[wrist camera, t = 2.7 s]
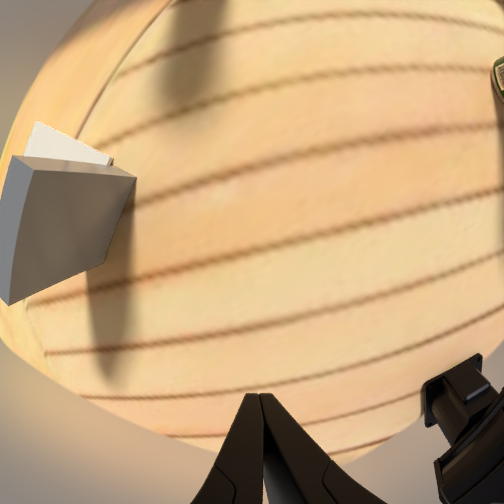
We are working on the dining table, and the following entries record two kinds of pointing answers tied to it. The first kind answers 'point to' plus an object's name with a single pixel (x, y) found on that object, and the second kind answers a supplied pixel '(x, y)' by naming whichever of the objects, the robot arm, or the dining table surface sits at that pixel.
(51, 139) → the plate
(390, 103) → the dining table surface
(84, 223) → the slate tile
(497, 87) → the beer can
